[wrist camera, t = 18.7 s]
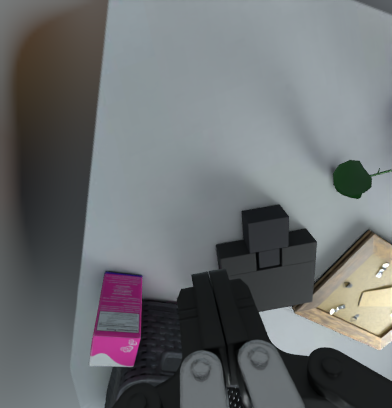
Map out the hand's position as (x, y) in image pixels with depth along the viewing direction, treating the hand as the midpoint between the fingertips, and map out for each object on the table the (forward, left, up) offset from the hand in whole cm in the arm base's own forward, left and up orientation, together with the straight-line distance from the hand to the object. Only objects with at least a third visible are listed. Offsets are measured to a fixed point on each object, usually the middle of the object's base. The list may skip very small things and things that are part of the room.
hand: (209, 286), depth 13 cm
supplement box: (-12, -22, -27) cm, 37 cm away
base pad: (+10, -24, -27) cm, 37 cm away
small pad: (+10, -17, -27) cm, 33 cm away
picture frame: (+30, -35, -27) cm, 53 cm away
